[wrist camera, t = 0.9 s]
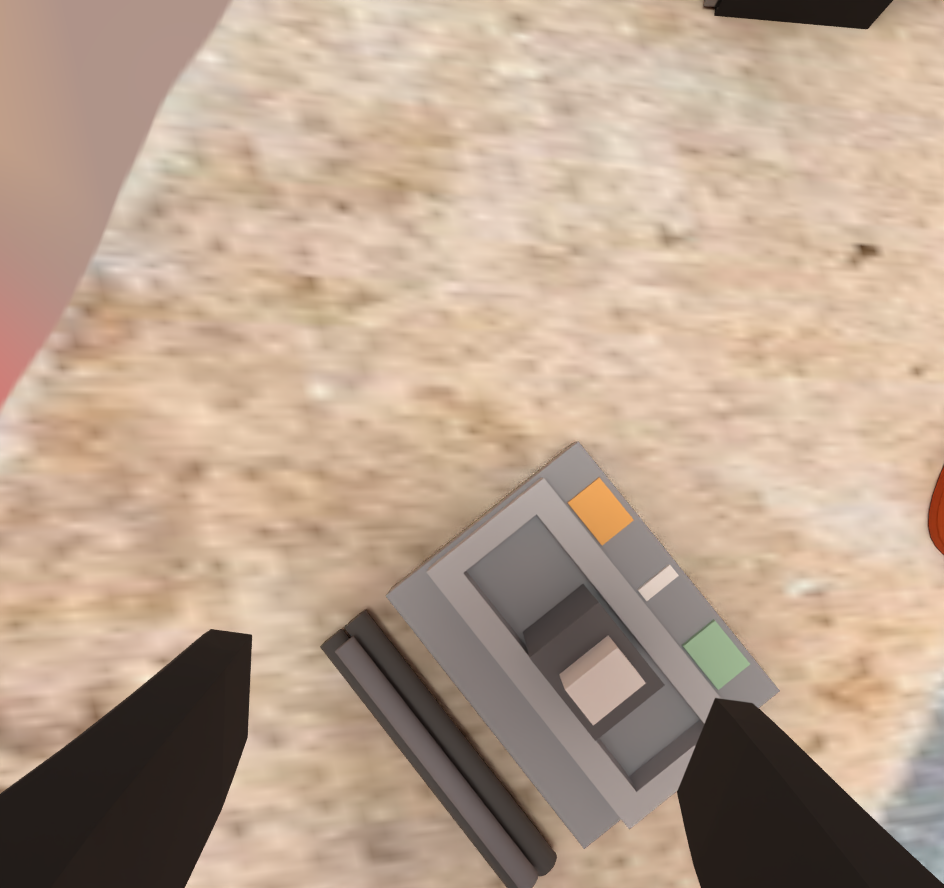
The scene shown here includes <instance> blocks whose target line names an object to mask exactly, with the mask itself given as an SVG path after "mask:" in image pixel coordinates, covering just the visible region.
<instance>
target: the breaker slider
mask: <svg viewBox="0 0 944 888" xmlns="http://www.w3.org/2000/svg"><path fill="white" fill-rule="evenodd" d="M523 634H524V638H525V642H526V646H527V650H528V654H529V658H530V659H531V661H532V662H533V663H534V664H535V666H536V667H537V668H538V669H539V671H540V672H541V673H542V674H543V676H544V677H545V678H546V679H547V681H548V682H549V683H550V685H551V686H552V687H553V688H554V690H555V691H556V692H557V693H558V695H559V696H560V697H561V698H562V700H563V701H564V702H565V703H566V705H567V706H568V707H569V709H570V710H571V711H572V712H573V714H574V715H575V716H576V717H577V719H578V720H579V721H580V722H581V724H582V725H583V726H584V727H585V729H586V730H587V731H588V733H589V734H590V735H591V736H592V738H593V739H594V740H595V741H596V740H598V739H599V738H600V737H601V736H602V735H604V734H605V733H606V732H607V731H609V730H610V729H611V728H612V727H614V726H615V725H616V724H617V723H619V722H620V721H621V720H622V719H624V718H625V717H626V716H627V715H629V714H630V713H631V712H632V711H633V710H635V709H636V708H637V707H638V706H640V705H641V704H642V703H643V702H645V701H646V700H647V699H648V698H650V697H651V696H652V695H653V694H655V693H656V692H657V691H658V690H660V689H661V688H662V687H663V686H665V684H664V683H663V682H662V681H661V679H660V678H659V677H658V676H657V674H656V673H655V672H654V671H653V669H652V668H651V667H650V666H649V664H648V663H647V662H646V661H645V659H644V658H643V657H642V656H641V654H640V653H639V652H638V651H637V649H636V648H635V647H634V646H633V644H632V643H631V642H630V641H629V639H628V638H627V637H626V636H625V634H624V633H623V632H622V631H621V629H620V628H619V627H618V626H617V624H616V623H615V622H614V621H613V619H612V618H611V617H610V616H609V614H608V613H607V612H606V611H605V609H604V608H603V607H602V606H601V604H600V603H599V602H598V601H597V600H596V598H595V597H594V596H593V595H592V594H591V592H590V591H589V590H588V589H587V588H586V587H585V585H584V584H582V585H581V586H580V587H578V588H577V589H576V590H575V591H573V592H572V593H571V594H570V595H568V596H567V597H566V598H565V599H563V600H562V601H561V602H560V603H559V604H557V605H556V606H555V607H554V608H552V609H551V610H550V611H549V612H547V613H546V614H545V615H544V616H542V617H541V618H540V619H539V620H537V621H536V622H535V623H534V624H532V625H531V626H530V627H529V628H527V629H526V630H525V631H524V632H523Z"/></svg>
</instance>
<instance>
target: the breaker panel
mask: <svg viewBox="0 0 944 888" xmlns="http://www.w3.org/2000/svg"><path fill="white" fill-rule="evenodd" d="M582 584H584V585H585V587H586V588H587V589H588V590H589V591H590V592H591V594H592V595H593V596H594V597H595V598H596V600H597V601H598V602H599V603H600V604H601V606H602V607H603V608H604V609H605V611H606V612H607V613H608V614H609V616H610V617H611V618H612V619H613V621H614V622H615V623H616V624H617V626H618V627H619V628H620V629H621V631H622V632H623V633H624V634H625V636H626V637H627V638H628V639H629V641H630V642H631V643H632V644H633V646H634V647H635V648H636V649H637V651H638V652H639V653H640V654H641V656H642V657H643V658H644V659H645V661H646V662H647V663H648V664H649V666H650V667H651V668H652V669H653V671H654V672H655V673H656V674H657V676H658V677H659V678H660V679H661V681H662V682H663V683H664V684H665V686H663V687H662V688H661V689H660V690H658V691H657V692H656V693H655V694H653V695H652V696H651V697H650V698H648V699H647V700H646V701H645V702H643V703H642V704H641V705H640V706H638V707H637V708H636V709H635V710H633V711H632V712H631V713H630V714H629V715H627V716H626V717H625V718H624V719H622V720H621V721H620V722H619V723H617V724H616V725H615V726H614V727H612V728H611V729H610V730H609V731H607V732H606V733H605V734H604V735H602V736H601V737H600V738H599V739H598V740H596V741H595V740H594V739H593V738H592V736H591V735H590V734H589V733H588V731H587V730H586V729H585V727H584V726H583V725H582V724H581V722H580V721H579V720H578V719H577V717H576V716H575V715H574V714H573V712H572V711H571V710H570V709H569V707H568V706H567V705H566V703H565V702H564V701H563V700H562V698H561V697H560V696H559V695H558V693H557V692H556V691H555V690H554V688H553V687H552V686H551V685H550V683H549V682H548V681H547V679H546V678H545V677H544V676H543V674H542V673H541V672H540V671H539V669H538V668H537V667H536V666H535V664H534V663H533V662H532V661H531V659H530V658H529V654H528V650H527V646H526V642H525V638H524V634H523V632H524V631H525V630H526V629H527V628H529V627H530V626H531V625H532V624H534V623H535V622H536V621H537V620H539V619H540V618H541V617H542V616H544V615H545V614H546V613H547V612H549V611H550V610H551V609H552V608H554V607H555V606H556V605H557V604H559V603H560V602H561V601H562V600H563V599H565V598H566V597H567V596H568V595H570V594H571V593H572V592H573V591H575V590H576V589H577V588H578V587H580V586H581V585H582ZM386 597H387V598H388V600H389V601H390V602H391V603H392V605H393V606H394V607H395V608H396V610H397V611H398V612H399V614H400V615H401V616H402V617H403V619H404V620H405V621H406V623H407V624H408V625H409V626H410V628H411V629H412V630H413V631H414V633H415V634H416V635H417V637H418V638H419V639H420V640H421V642H422V643H423V644H424V645H425V647H426V648H427V649H428V651H429V652H430V653H431V654H432V656H433V657H434V658H435V659H436V661H437V662H438V663H439V665H440V666H441V667H442V668H443V670H444V671H445V672H446V674H447V675H448V676H449V677H450V679H451V680H452V681H453V682H454V684H455V685H456V686H457V688H458V689H459V690H460V691H461V693H462V694H463V695H464V696H465V698H466V699H467V700H468V702H469V703H470V704H471V705H472V707H473V708H474V709H475V710H476V712H477V713H478V714H479V716H480V717H481V718H482V719H483V721H484V722H485V723H486V725H487V726H488V727H489V728H490V730H491V731H492V732H493V733H494V735H495V736H496V737H497V739H498V740H499V741H500V742H501V744H502V745H503V746H504V747H505V749H506V750H507V751H508V753H509V754H510V755H511V756H512V758H513V759H514V760H515V761H516V763H517V764H518V765H519V767H520V768H521V769H522V770H523V772H524V773H525V774H526V776H527V777H528V778H529V779H530V781H531V782H532V783H533V784H534V786H535V787H536V788H537V790H538V791H539V792H540V793H541V795H542V796H543V797H544V798H545V800H546V801H547V802H548V804H549V805H550V806H551V807H552V809H553V810H554V811H555V812H556V814H557V815H558V816H559V818H560V819H561V820H562V821H563V823H564V824H565V825H566V827H567V828H568V829H569V830H570V832H571V833H572V834H573V835H574V837H575V838H576V839H577V841H578V842H579V843H580V844H581V846H582V847H583V848H584V849H585V848H586V847H587V846H589V845H590V844H591V843H592V842H594V841H595V840H596V839H597V838H599V837H600V836H601V835H602V834H603V833H605V832H606V831H607V830H608V829H610V828H611V827H612V826H613V825H615V824H616V823H617V822H618V821H620V820H622V821H623V822H624V823H625V825H626V826H627V827H628V828H629V829H631V828H632V827H633V826H634V825H635V824H637V823H638V822H639V821H640V820H642V819H643V818H644V817H645V816H647V815H648V814H649V813H650V812H652V811H653V810H654V809H655V808H657V807H658V806H659V805H660V804H661V803H663V802H664V801H665V800H666V799H668V798H669V797H670V796H671V795H673V794H674V793H675V792H676V791H678V788H679V786H680V783H681V781H682V778H683V776H684V773H685V771H686V768H687V766H688V763H689V761H690V758H691V756H692V753H693V751H694V748H695V746H696V744H697V741H698V739H699V736H700V734H701V731H702V729H703V726H704V724H705V721H706V719H707V716H708V714H709V711H710V709H711V706H712V704H713V702H714V699H715V698H720V699H728V700H735V701H742V702H750V703H753V704H754V705H755V706H756V707H758V708H759V707H761V706H762V705H763V704H764V703H766V702H767V701H768V700H769V699H771V698H772V697H773V696H774V695H776V694H777V693H778V692H779V691H780V690H779V689H778V688H777V687H776V685H775V684H774V683H773V682H772V680H771V679H770V678H769V677H768V676H767V674H766V673H765V672H764V671H763V669H762V668H761V667H760V666H759V664H758V663H757V662H756V661H755V659H754V658H753V657H752V656H751V655H750V653H749V652H748V651H747V650H746V648H745V647H744V646H743V645H742V643H741V642H740V641H739V640H738V638H737V637H736V636H735V635H734V633H733V632H732V631H731V630H730V629H729V627H728V626H727V625H726V624H725V622H724V621H723V620H722V619H721V617H720V616H719V615H718V614H717V612H716V611H715V610H714V609H713V607H712V606H711V605H710V604H709V603H708V601H707V600H706V599H705V598H704V596H703V595H702V594H701V593H700V591H699V590H698V589H697V588H696V586H695V585H694V584H693V583H692V581H691V580H690V579H689V578H688V577H687V575H686V574H685V573H684V572H683V570H682V569H681V568H680V567H679V565H678V564H677V563H676V562H675V560H674V559H673V558H672V557H671V556H670V554H669V553H668V552H667V551H666V549H665V548H664V547H663V546H662V544H661V543H660V542H659V541H658V539H657V538H656V537H655V536H654V534H653V533H652V532H651V531H650V530H649V528H648V527H647V526H646V525H645V523H644V522H643V521H642V520H641V518H640V517H639V516H638V515H637V513H636V512H635V511H634V510H633V508H632V507H631V506H630V505H629V504H628V502H627V501H626V500H625V499H624V497H623V496H622V495H621V494H620V492H619V491H618V490H617V489H616V487H615V486H614V485H613V484H612V482H611V481H610V480H609V479H608V478H607V476H606V475H605V474H604V473H603V471H602V470H601V469H600V468H599V466H598V465H597V464H596V463H595V461H594V460H593V459H592V458H591V456H590V455H589V454H588V453H587V452H586V450H585V449H584V448H583V447H582V445H581V444H580V443H579V442H574V443H572V444H571V445H570V446H568V447H567V448H566V449H565V450H563V451H562V452H561V453H560V454H558V455H557V456H556V457H555V458H553V459H552V460H551V461H550V462H548V463H547V464H546V465H545V466H543V467H542V468H541V469H540V470H538V471H537V472H536V473H535V474H533V475H532V476H531V477H530V478H528V479H527V480H526V481H525V482H523V483H522V484H521V485H520V486H518V487H517V488H516V489H515V490H513V491H512V492H511V493H510V494H508V495H507V496H506V497H505V498H504V499H502V500H501V501H500V502H499V503H497V504H496V505H495V506H494V507H492V508H491V509H490V510H489V511H487V512H486V513H485V514H484V515H482V516H481V517H480V518H479V519H477V520H476V521H475V522H474V523H472V524H471V525H470V526H469V527H467V528H466V529H465V530H464V531H462V532H461V533H460V534H459V535H457V536H456V537H455V538H454V539H452V540H451V541H450V542H449V543H447V544H446V545H445V546H444V547H442V548H441V549H440V550H439V551H437V552H436V553H435V554H434V555H432V556H431V557H430V558H429V559H427V560H426V561H425V562H424V563H422V564H421V565H420V566H419V567H417V568H416V569H415V570H414V571H412V572H411V573H410V574H409V575H407V576H406V577H405V578H404V579H402V580H401V581H400V582H399V583H397V584H396V585H395V586H394V587H392V588H391V589H390V591H389V592H388V593H387V595H386Z"/></svg>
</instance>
